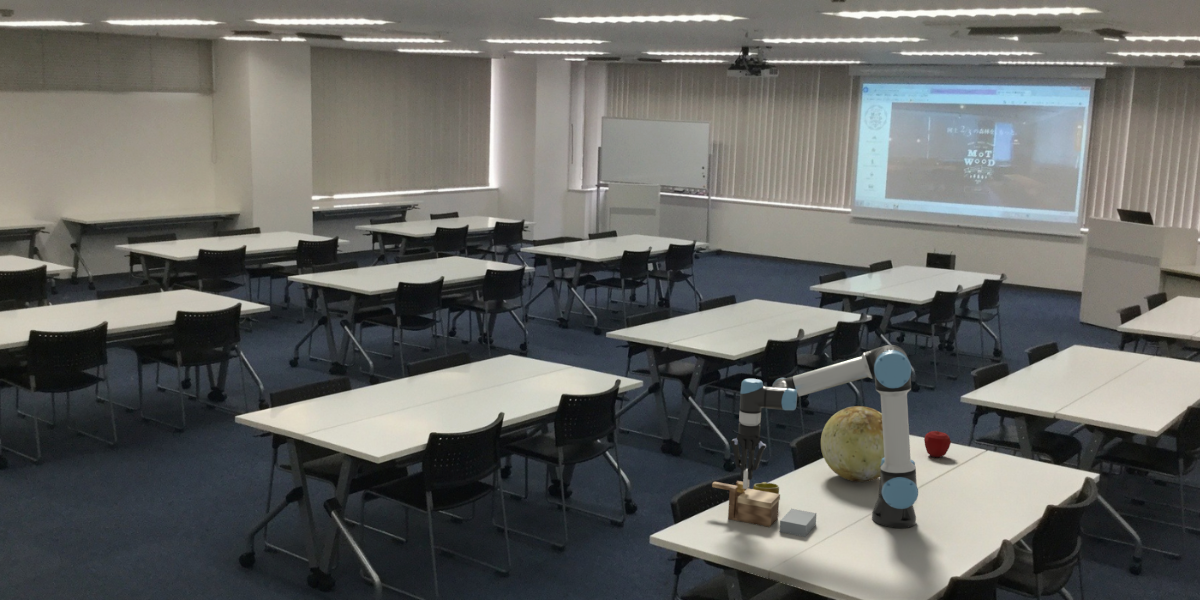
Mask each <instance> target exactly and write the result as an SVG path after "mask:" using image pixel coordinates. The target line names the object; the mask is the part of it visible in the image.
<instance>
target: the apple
mask: <svg viewBox="0 0 1200 600" xmlns="http://www.w3.org/2000/svg"><path fill="white" fill-rule="evenodd" d="M923 440H924V441H923V442H924V447H925V450H926V453H927V454H928V455H929V456H931V457H933V458H941V457H943V456H945V455H946V454H947V452H948V451H949V449H950V446H951V443H952V441H951V438H950V435H948V434H947V433H946V432H941V431H939V430H932V431H929V432H927V433H925V436H924V439H923Z"/></svg>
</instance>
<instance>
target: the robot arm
mask: <svg viewBox="0 0 1200 600" xmlns="http://www.w3.org/2000/svg"><path fill="white" fill-rule="evenodd" d="M911 376H912V364H911V362H910V359H909V357H908V355H907V352H906V351H905V350H904V349H903V348H902V347H900V346H898V345H894V344H887V345H883V346H880V347H877V348H874V349H871V350H868V351H865V352H863V353H862V354H861V356H857V357H854V358H852V359H848V360H845V361H841V362H837V363H834V364H830V365H827V366H823V367H820V368H817V369H814V370H810V371H805V372H804V373H800V374H796V375H793V376H789V377H787V378H786V377H780V378H777V379H775V381H774V382H773V383H772V386H765V385H764V383H763V381H762V380H761V379H758V378H757V379H756V378H745V379H743V380H742V381H741V384H740V385H741V386H740V395H739V396H740V397H739V398H740V399H739V412H738V413H739V418H738V422H739V423H738V433H737V436H736V438H733V439H732V440H730V445H731V446H732V449H733V456H734V460H735V466H736V468H739V469H740V478H741V479H742V480H743V481H742V482H743V489H745V490H746V489H750V481H751V480H753V471H757V469H759V466H760V463H761V461H762V457H763V454H764V450H766V448H767V444H766V443H763V441H762V438H761V434H760V433H761V420H762V419H761V418H762V409H772V410H782V411H795V410H796V408H797V401H798V398H800V397H802V396H806V395H808V394H809V395H810V394H812V393H816V392H820V391H823V390H824V391H825V390H827V389H830V388H834V387H837V386H838V387H839V386H841V385H845V384H847V383H851V382H852V383H853V382H855V381H859V380H862V379H866V378H870V379H872V380H873V379H874V382H875V383H874V384H875V391H876V392H878V394H879V395H880V405H881V407H880V409H881V413H882V426H883V442H884V458H882V460H881V464H880V466H881V467H880V468H881V471H880V477H879V485H878V487H879V488H878V498H877V500H876V502H875V505H874V507H873V508H872V509H873V510H872V514H871V519H872V521H873V522H874V523H877V524H878V525H881V526H884V527H889V528H894V529H906V528H907V529H909V528H912V527H914V526H916V524H917V516H916V513H915V507H914V504H915V503H916V501H918V500H917V499H918V496H919V488H918V482H917V468H916V462H915V461H914V460H913V459H911V443H910V442H911V441H910V429H909V428H910V426H909V407H908V393H909V392H910V391H911V390H912V380H911V379H912V378H911ZM739 445H740V446H741V453H740V448H739ZM756 447H758V450H757V453H756V454H757V455H756V457H755V450H756ZM754 458H755V459H754ZM747 459H748V460H747ZM747 461H748V462H747ZM747 464H748V465H747Z"/></svg>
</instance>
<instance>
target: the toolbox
mask: <svg viewBox="0 0 1200 600" xmlns="http://www.w3.org/2000/svg"><path fill="white" fill-rule="evenodd" d="M739 482H742V481H741V480H736V482H735V485H736V486H737V485H738V483H739ZM728 491H729V493H728V494H729V496H728V513H727V514H728V515H727V519H728V520H732V521H737V522H741V523H746V524H751V525H756V524H757V525H758V526H761V525H763V526H762V527H766V526H768V528H771V527H773V525H774V524H775V523H776V522H777V521H778V520H779V507H780V506H779V503H780V500H779V501H778V502H777V503H776V504H775V505H774V506H773V507H772V508H771V509H769V508H764V507H758V506H753V505H748V504H742V503H738V497H739V496H740V495H741V494H742V493H740V492H737V487H733V486H731V487H730V490H728Z"/></svg>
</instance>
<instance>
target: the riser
mask: <svg viewBox="0 0 1200 600" xmlns="http://www.w3.org/2000/svg"><path fill="white" fill-rule="evenodd" d="M816 523H817V512H811V511H807V510H801V509H798V508H797V509H795V508H790V509H789V511H788V512H787V513H786V514H784V516H783V517H782V518H781V519H780V520H779V532H780V533H784V534H789V535H794V536H799V537H804V538H806V537H807V535H808V534H809V533H810V532H811V531H812V529H813V528H814V527H815V526H816V525H817V524H816Z"/></svg>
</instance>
